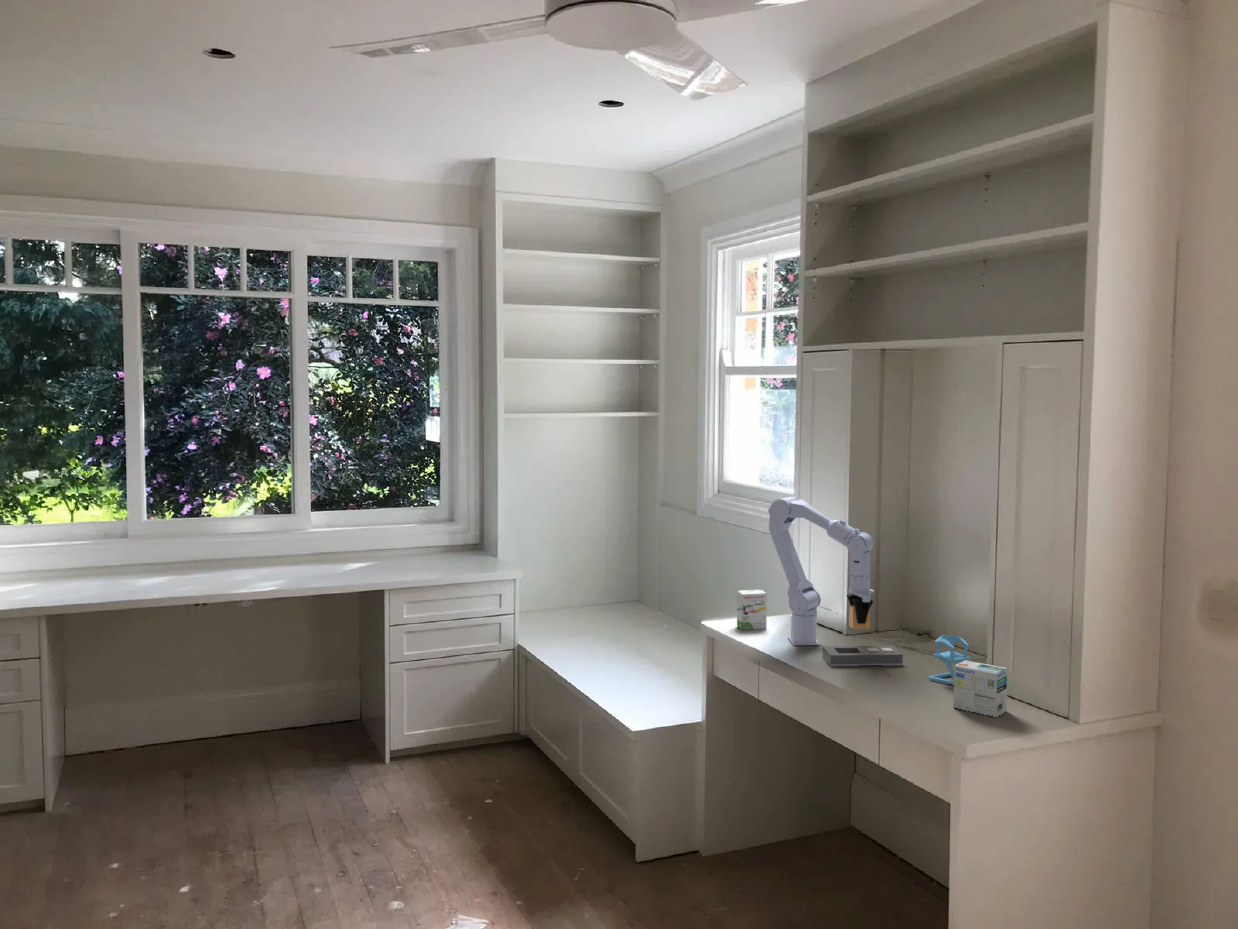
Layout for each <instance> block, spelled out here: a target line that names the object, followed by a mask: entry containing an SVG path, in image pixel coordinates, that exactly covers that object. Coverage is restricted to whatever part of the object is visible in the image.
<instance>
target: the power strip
mask: <svg viewBox="0 0 1238 929" xmlns="http://www.w3.org/2000/svg"><path fill="white" fill-rule="evenodd" d="M903 656H904V655H903V653H902V652H900V650H898V649H897V648H896V647H895V646H894V645H886V644H885V645H823V646H822V658H823V657H824V658H825V659H824V658H823V659H824V660H825V662H828V663H827V664H828V665H829V664H830V665H829V667H848V666H849V667H853V666H854V667H856V666H857V667H861V666H860V665H883V666H903ZM858 665H859V666H858Z"/></svg>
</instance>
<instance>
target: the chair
mask: <svg viewBox="0 0 1238 929" xmlns="http://www.w3.org/2000/svg"><path fill="white" fill-rule="evenodd" d="M934 641H935V646H936V653H935V652H934V653H933V654H932V656H933V658H935V659H938V660H939V661H941V662H943V663H944V664H945V665H946V667H947V669H948V671H949V672H946V673H940V674H934V675H929V676H928V680H929V681H932V682H937V683H940V684H944V685H948V684H952V685H951V686H953V685H954V666H953V664H956V663H958V662H959V663H961V662H963V661H965V660H967V661H971V656H968V653H967V652H968V649H969V646H970V644H969V643H967V642H966V640H964V638H962V637H959V636H955V635H950V634H944V635H941V636H939V637H938V638H937V639H935V640H934ZM956 642H959V643H961V644H962V645H963V646H964V649H963V652H962V653H963V654H961V653H959V652H956V651H955V646H954V643H956ZM940 645H944V646H945V647H946V648H948V649H949V650H947V651H945V652H941V648H940ZM947 676H949V677H950V676H951V677H950V678H952V679H953V680H950V679H945V678H947Z"/></svg>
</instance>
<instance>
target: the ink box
mask: <svg viewBox="0 0 1238 929" xmlns="http://www.w3.org/2000/svg"><path fill="white" fill-rule="evenodd" d="M767 595H768V594H767V592H765V591H764V590H763V589H745V590H743V589H742V590H740V589H739V590H737V591H736V627H737V626H738V627H739V628H740V630H741V631H749V630H752V629H754V630H766V629H768V628H767V621H768V620H767V618H768V617H767V616H768V614H767V613H768V612H767V611H768V609H767V607H768V606H767V604H768V603H767V602H768V596H767ZM738 627H737V628H738ZM739 628H738V629H739Z"/></svg>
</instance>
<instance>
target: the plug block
mask: <svg viewBox="0 0 1238 929" xmlns="http://www.w3.org/2000/svg"><path fill="white" fill-rule="evenodd" d="M848 607H849V608H848V609H849V610H848V612H849V613H848V614H849V618H848V619H849V620H848V623H849V624H848V627H850V628H851V630H870V629H871V608H870V609H869V612H868V615H867V619H866V623H865V624H858V622H857V617H856V610H855V606H854V605H850V604H849V606H848Z"/></svg>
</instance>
